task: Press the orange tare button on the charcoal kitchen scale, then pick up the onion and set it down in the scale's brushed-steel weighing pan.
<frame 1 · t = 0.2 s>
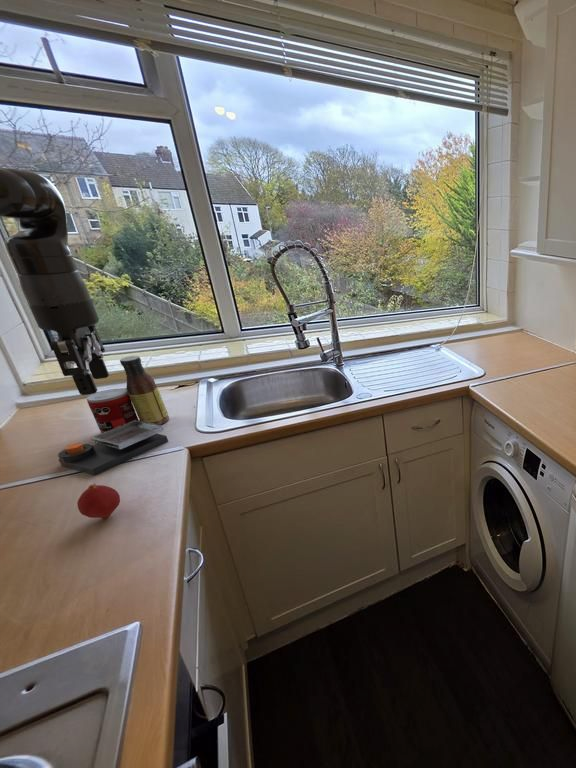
hand: (95, 385, 76), 26 cm above the worktop, tool pointing down, fingers open, 8 cm apart
onion: (106, 517, 81), on the worktop
scale: (117, 453, 101), on the worktop
pan: (129, 436, 102), resting on scale
sauce bottle: (155, 423, 116), on the worktop
canned food: (122, 431, 112), on the worktop
tare button: (74, 448, 96), point 4 cm above the worktop, slide at 0.1 cm
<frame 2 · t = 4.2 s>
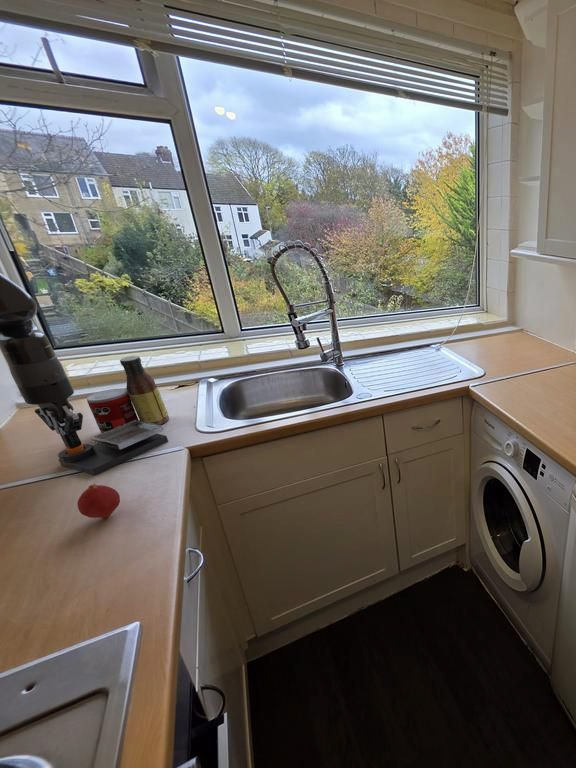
hand: (74, 446, 96), 5 cm above the worktop, tool pointing down, fingers closed
tare button: (75, 449, 96), point 4 cm above the worktop, slide at 0.0 cm, touching gripper
everything else where it was.
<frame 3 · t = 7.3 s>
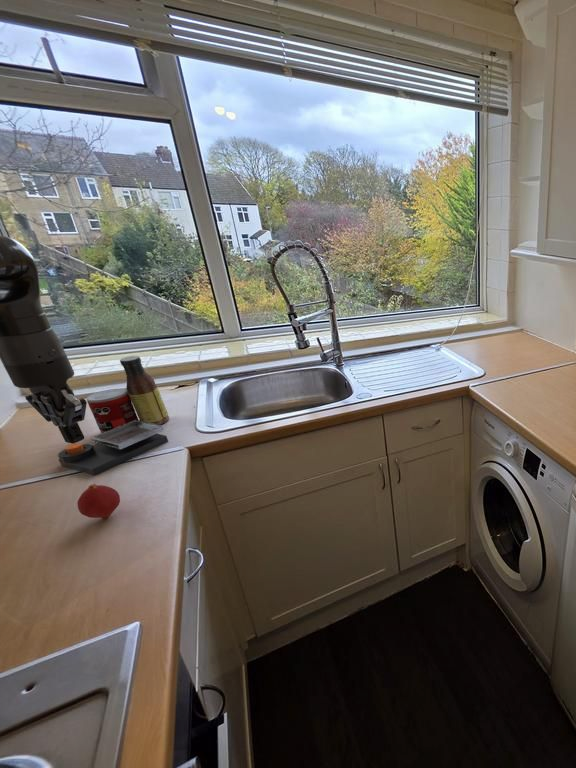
hand: (75, 441, 78), 15 cm above the worktop, tool pointing down, fingers closed
tare button: (74, 448, 96), point 4 cm above the worktop, slide at 0.1 cm
everything else where it was.
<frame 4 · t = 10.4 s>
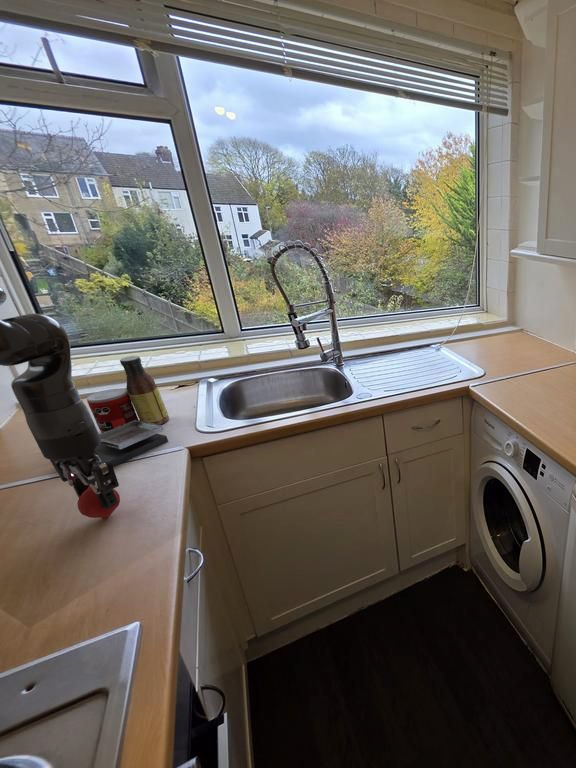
hand: (99, 502, 79), 4 cm above the worktop, tool pointing down, fingers closed on onion, 6 cm apart
onion: (106, 517, 81), on the worktop, touching gripper
everything else where it was.
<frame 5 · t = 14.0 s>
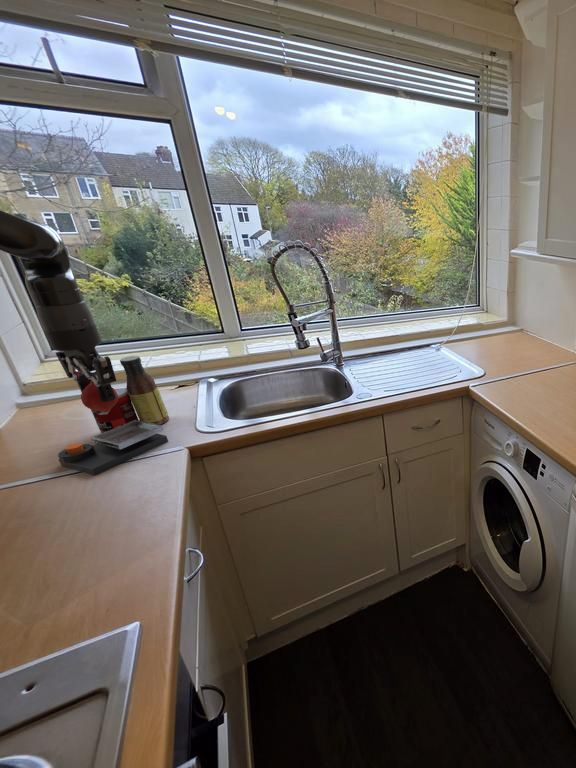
hand: (99, 397, 90), 17 cm above the worktop, tool pointing down, fingers closed on onion, 6 cm apart
onion: (106, 413, 92), point 14 cm above the worktop, touching gripper
everything else where it was.
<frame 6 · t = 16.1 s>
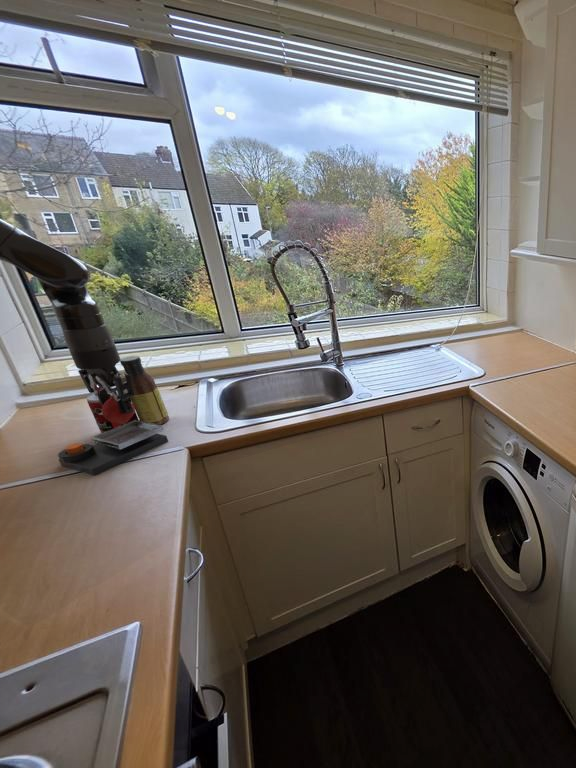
hand: (118, 410, 99), 11 cm above the worktop, tool pointing down, fingers closed on onion, 6 cm apart
onion: (124, 424, 101), point 7 cm above the worktop, touching gripper
everything else where it was.
when the fingers open (7 cm above the worktop, at t = 17.6 s): onion stays where it is, resting on pan.
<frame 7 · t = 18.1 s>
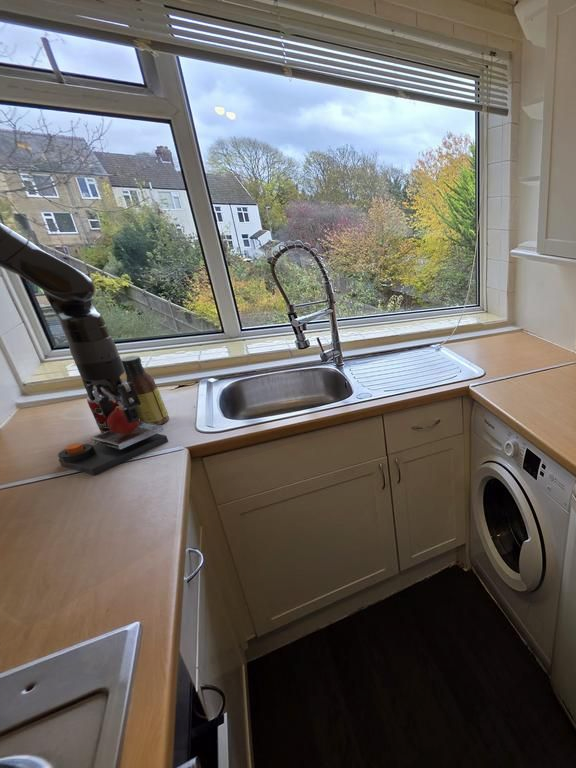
hand: (122, 418, 100), 8 cm above the worktop, tool pointing down, fingers open, 8 cm apart
onion: (128, 435, 102), point 4 cm above the worktop, touching pan
everything else where it was.
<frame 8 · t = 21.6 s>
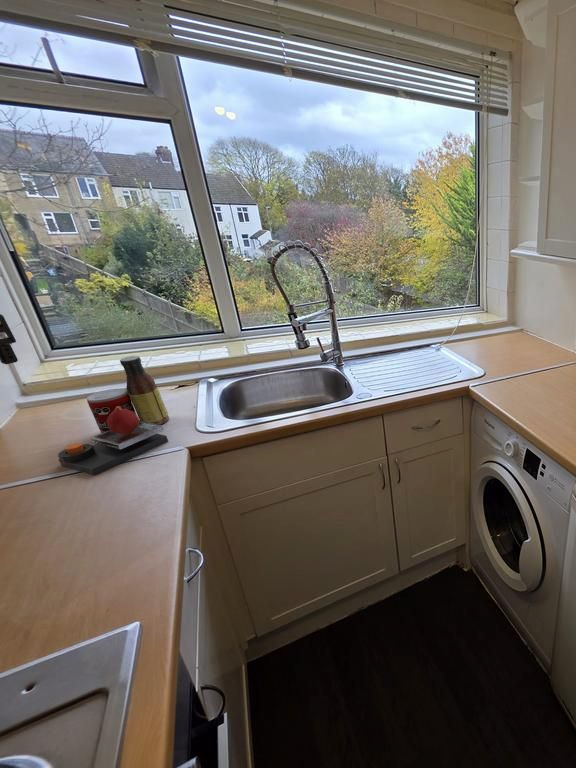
nothing on the worktop moved.
at the end: tare button pushed in 1.0 cm at the most during the clip, back to where it started at the end; tare button slide at 0.1 cm; onion 0.0 cm off-centre on the pan, point 0.2 cm above the pan's base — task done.
